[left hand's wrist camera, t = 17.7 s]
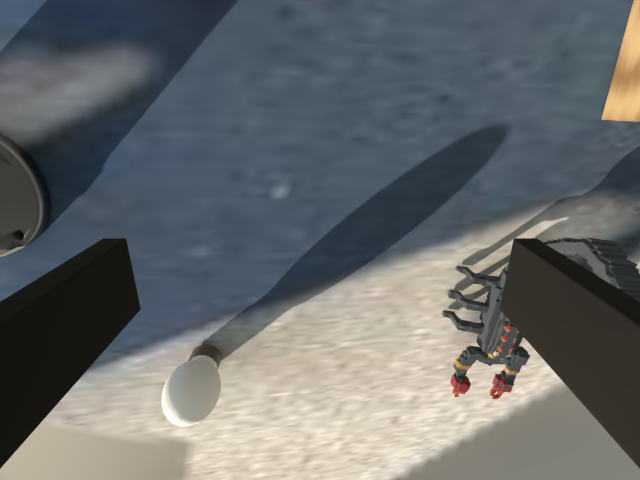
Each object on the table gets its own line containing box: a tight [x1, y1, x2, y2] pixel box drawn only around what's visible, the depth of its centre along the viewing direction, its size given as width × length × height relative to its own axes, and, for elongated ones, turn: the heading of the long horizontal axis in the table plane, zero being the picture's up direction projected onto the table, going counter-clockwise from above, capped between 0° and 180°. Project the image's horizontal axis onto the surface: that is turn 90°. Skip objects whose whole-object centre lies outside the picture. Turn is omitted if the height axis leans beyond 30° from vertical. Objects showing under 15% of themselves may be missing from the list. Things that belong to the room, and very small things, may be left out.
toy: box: [442, 238, 640, 399], centre depth 39 cm, size 13×27×18 cm, turn 172°
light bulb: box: [162, 345, 221, 426], centre depth 46 cm, size 7×7×11 cm
